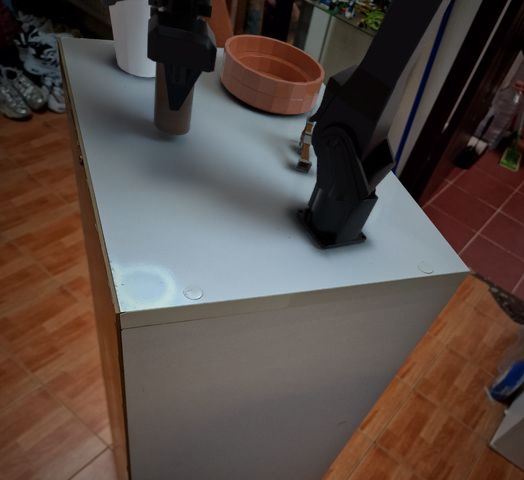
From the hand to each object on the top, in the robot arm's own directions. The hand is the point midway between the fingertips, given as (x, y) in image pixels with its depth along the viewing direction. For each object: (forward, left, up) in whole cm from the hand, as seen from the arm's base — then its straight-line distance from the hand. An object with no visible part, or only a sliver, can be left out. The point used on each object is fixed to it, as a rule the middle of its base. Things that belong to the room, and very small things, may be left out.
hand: (173, 100), depth 51 cm
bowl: (+11, -20, -4) cm, 23 cm away
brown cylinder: (0, 0, -3) cm, 3 cm away
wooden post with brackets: (-6, -16, -4) cm, 18 cm away
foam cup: (+18, -2, -4) cm, 19 cm away
